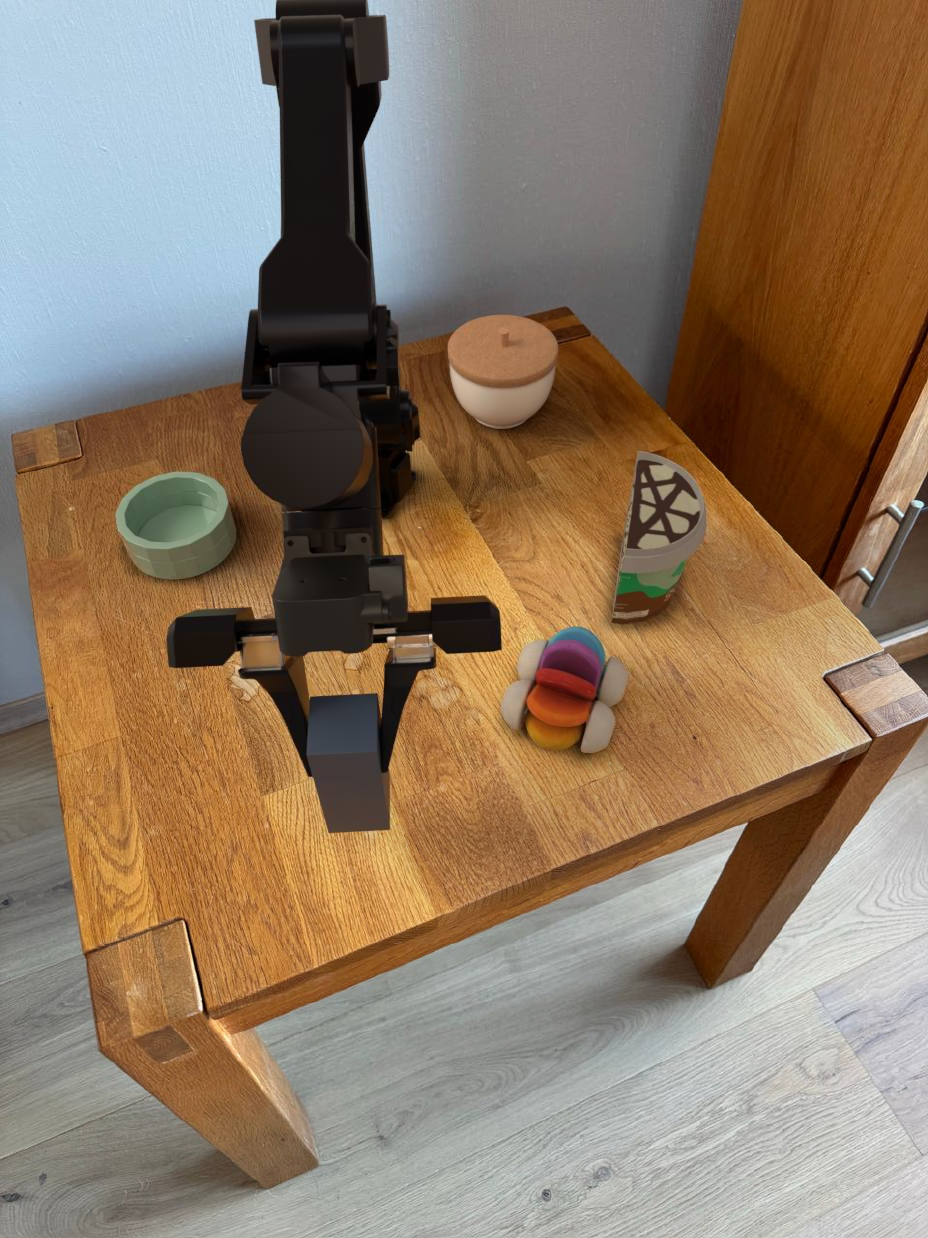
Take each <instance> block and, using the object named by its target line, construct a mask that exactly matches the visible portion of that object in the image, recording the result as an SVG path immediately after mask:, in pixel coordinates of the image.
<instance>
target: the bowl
mask: <svg viewBox="0 0 928 1238" xmlns="http://www.w3.org/2000/svg"><path fill="white" fill-rule="evenodd" d="M121 498H122V499H121V500H120V503H119V505H118V507H117V508H116V511H115V522H116V530H117V532H118V533H119V536H120V538H121V541H122V543H123V546H124V548H125V550H126V553H127V555H128V557H129V558H130V560H131V561H132V563H133V565H135V566H136V568H137V569H139V571H140V572H142V573H144V574H145V575H148V576H150V577H153V578H157V579H160V580H174V581H175V580H184V579H190V578H193V577H197V576H200V575H202V574H205V573H207V572H209V571H211V570H212V569H214V568H217V566H218V565H220V564H221V563H223V561H225V560H226V558H227V557H228V556H229V555H230V554H231V552H232V550H233V548H234V547H235V544H236V541H237V534H238V533H237V525H236V523H235V519H234V515H233V512H232V511H233V510H232V508H231V505H230V501H229V498H228V493H227V490H226V489H225V488H224V487H223V486H222V484H221V483H219V482H218V481H217V480H216V479H215V478H214V477H211V476H208V475H206V474H203V473H200V472H197V471H180V470H179V471H171V472H167V473H163V474H158V475H153V476H152V477H150V478H148V479H146V480H144V481H142V482H140V483H138V484H136V485H135V486H134V487H133V488H132V489H130V491H128V492H127V493H126V495H124V496H123V497H121Z"/></svg>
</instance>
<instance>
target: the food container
mask: <svg viewBox="0 0 928 1238" xmlns="http://www.w3.org/2000/svg"><path fill="white" fill-rule="evenodd" d="M707 524H708V523H707V505H706V501H705V497H704V495H703V492H702V490H701V488H700V485H699V484H698V482H697V481H696V480H695V478H694V477H693V476H692V475H691V474H690V473H689V472H688V471H687V470H686V469H685V468H684V467H682V466H680V465H679V464H678V463H676V462H674V461H672V460H670V459H669V458H667V457H664V456H662V455H659V454H656V453H651V452H648V451H643V450H637V454H636V459H635V464H634V472H633V477H632V483H631V489H630V495H629V500H628V505H627V511H626V517H625V523H624V529H623V534H622V540H621V546H620V553H619V562H618V567H617V568H618V569H617V576H616V583H615V584H616V585H615V591H614V592H615V593H614V599H613V607H612V614H611V621H610V623H611V624H621V625H622V624H623V625H625V624H632V623H633V624H635V623H641V622H642V623H643V622H645V621H648V620H649V619H652V618H654V617H656V616H658V615H660V614H661V613H662V612H663V611H664V610H666V608H667V607H669V605H670V603H671V601H672V599H673V597H674V595H675V592H676V590H677V588H678V585H679V582H680V579H681V576H682V574H683V571H684V569H685V566H686V563H687V561H688V559H689V558H690V557H692V555H694V553H696V551H698V549H699V548H700V547H701V545H702V544H703V542H704V540H705V539H704V538H705V537H706V532H707V528H708V527H707V526H708V525H707Z"/></svg>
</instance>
